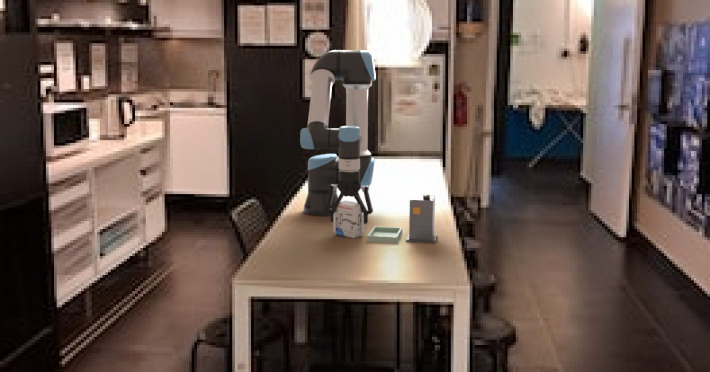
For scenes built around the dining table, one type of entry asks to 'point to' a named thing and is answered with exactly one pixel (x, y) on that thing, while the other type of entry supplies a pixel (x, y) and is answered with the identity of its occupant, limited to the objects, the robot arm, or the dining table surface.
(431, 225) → the control unit
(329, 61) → the robot arm
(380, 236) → the tray
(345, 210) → the ink box
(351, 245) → the dining table surface
